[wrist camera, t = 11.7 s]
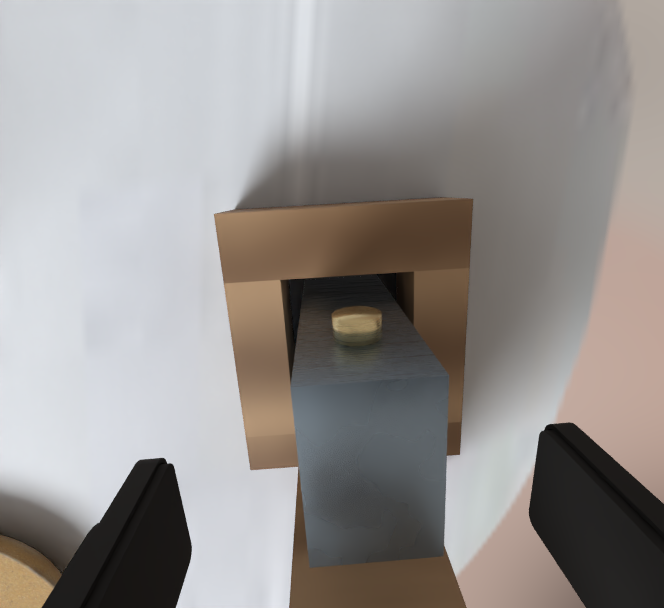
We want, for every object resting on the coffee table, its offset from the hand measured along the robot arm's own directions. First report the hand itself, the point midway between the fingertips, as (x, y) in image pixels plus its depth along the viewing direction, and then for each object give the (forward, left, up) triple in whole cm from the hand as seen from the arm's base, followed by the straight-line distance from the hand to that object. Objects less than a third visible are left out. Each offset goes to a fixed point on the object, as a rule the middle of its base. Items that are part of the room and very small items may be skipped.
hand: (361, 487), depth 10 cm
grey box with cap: (0, 0, -13) cm, 13 cm away
